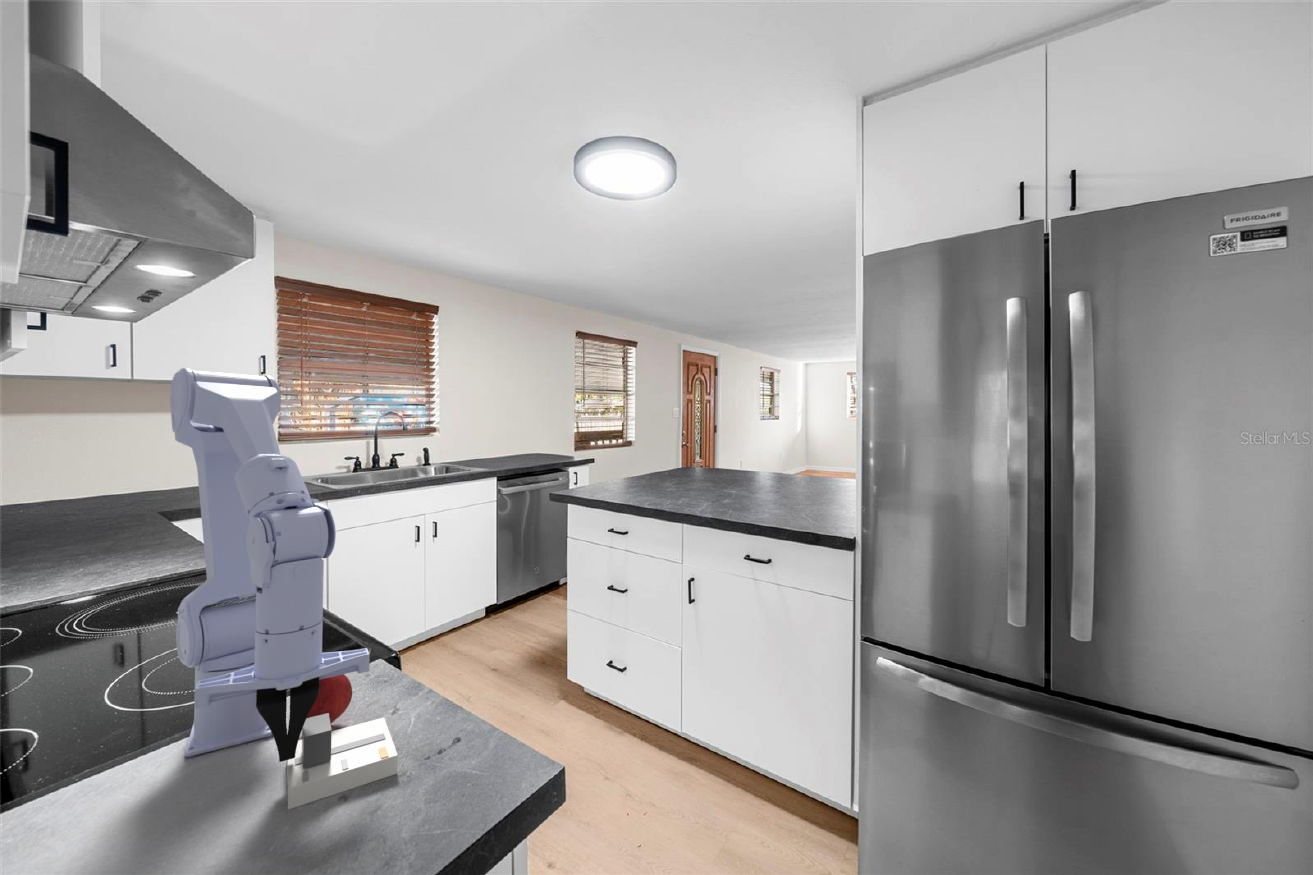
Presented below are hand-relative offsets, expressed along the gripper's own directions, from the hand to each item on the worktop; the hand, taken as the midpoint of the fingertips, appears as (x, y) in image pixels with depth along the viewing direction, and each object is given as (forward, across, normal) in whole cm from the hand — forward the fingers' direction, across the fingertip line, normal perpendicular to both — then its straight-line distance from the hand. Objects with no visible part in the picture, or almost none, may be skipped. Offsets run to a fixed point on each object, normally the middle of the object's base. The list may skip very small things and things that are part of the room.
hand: (287, 755), depth 54 cm
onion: (+3, +4, +10) cm, 11 cm away
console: (+3, +5, 0) cm, 6 cm away
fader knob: (+1, +3, 0) cm, 3 cm away
